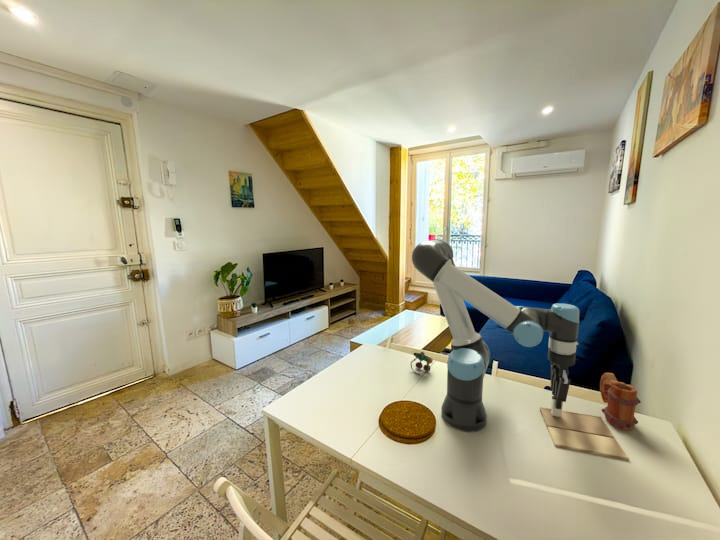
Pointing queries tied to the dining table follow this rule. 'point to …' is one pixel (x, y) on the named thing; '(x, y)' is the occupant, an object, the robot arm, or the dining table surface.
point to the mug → (618, 402)
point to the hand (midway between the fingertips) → (556, 414)
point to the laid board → (587, 443)
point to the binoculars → (421, 358)
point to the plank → (576, 422)
